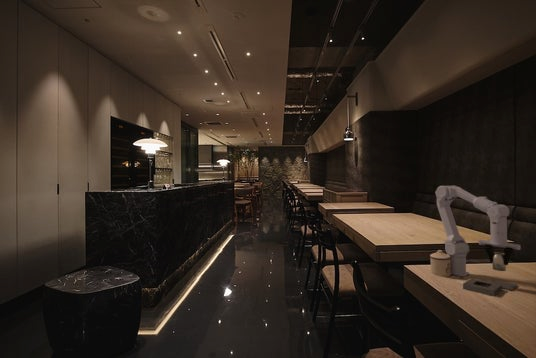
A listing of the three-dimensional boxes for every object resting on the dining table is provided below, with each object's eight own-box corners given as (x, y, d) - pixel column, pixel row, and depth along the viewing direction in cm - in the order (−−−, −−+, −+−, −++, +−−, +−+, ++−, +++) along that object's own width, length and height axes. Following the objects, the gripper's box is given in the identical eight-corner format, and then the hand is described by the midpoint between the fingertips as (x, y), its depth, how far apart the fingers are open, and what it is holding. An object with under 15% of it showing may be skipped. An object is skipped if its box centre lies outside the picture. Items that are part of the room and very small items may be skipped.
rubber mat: (486, 285, 133) (486, 283, 133) (492, 280, 138) (492, 279, 138) (512, 290, 126) (511, 289, 126) (517, 286, 131) (517, 284, 131)
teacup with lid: (450, 278, 143) (449, 253, 143) (429, 275, 149) (428, 251, 149) (453, 270, 153) (452, 247, 153) (433, 268, 158) (431, 246, 158)
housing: (463, 288, 129) (462, 283, 129) (472, 283, 136) (472, 278, 136) (494, 296, 120) (494, 290, 120) (502, 289, 127) (502, 284, 127)
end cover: (491, 269, 132) (490, 253, 132) (494, 267, 135) (494, 251, 135) (503, 271, 128) (503, 255, 128) (507, 269, 131) (507, 253, 131)
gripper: (476, 231, 135) (476, 261, 135) (517, 235, 124) (517, 268, 123) (481, 229, 139) (482, 259, 139) (521, 233, 128) (522, 265, 128)
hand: (499, 263), depth 132 cm, fingers closed on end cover, 5 cm apart
